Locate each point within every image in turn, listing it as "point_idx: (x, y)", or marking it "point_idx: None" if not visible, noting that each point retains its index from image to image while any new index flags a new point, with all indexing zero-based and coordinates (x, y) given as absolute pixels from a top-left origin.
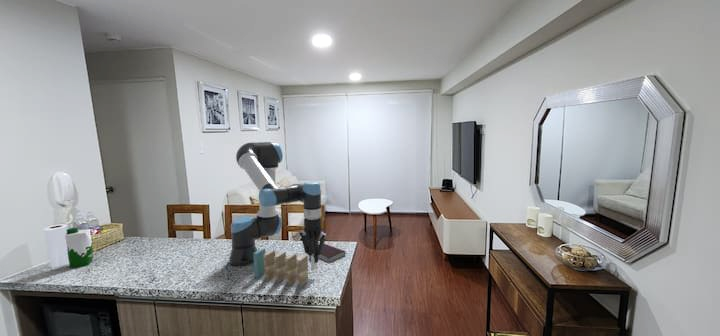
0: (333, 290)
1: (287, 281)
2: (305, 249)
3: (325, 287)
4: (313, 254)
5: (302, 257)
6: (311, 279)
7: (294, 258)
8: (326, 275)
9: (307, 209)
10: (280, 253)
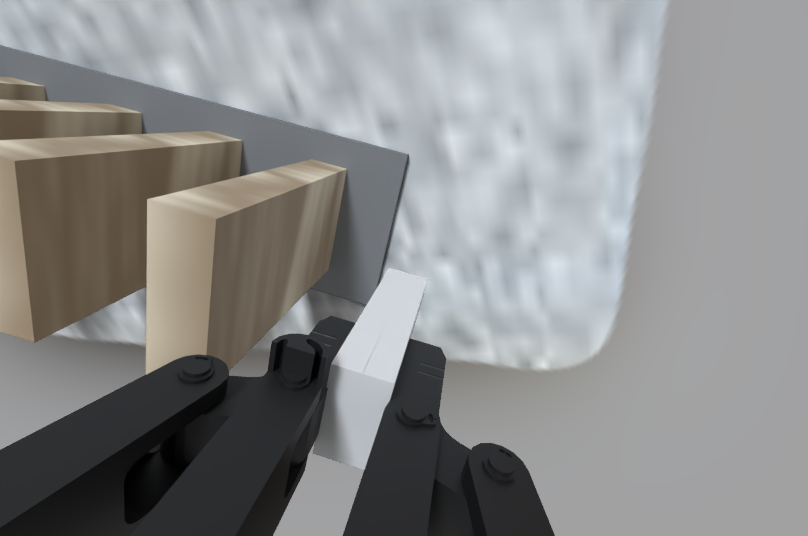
0: (591, 295)
1: None
2: (135, 504)
3: (518, 256)
4: (339, 398)
5: (174, 292)
6: (369, 151)
7: (69, 207)
8: (492, 32)
9: None
10: None
